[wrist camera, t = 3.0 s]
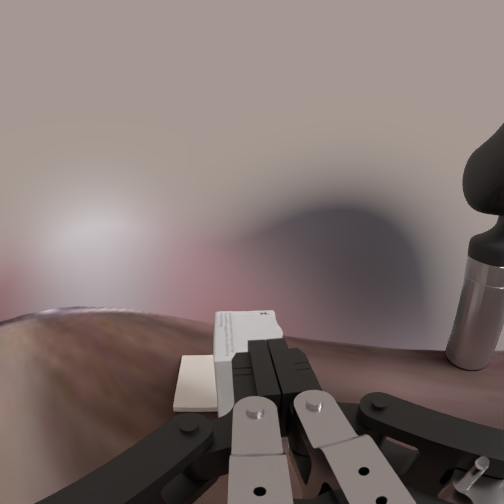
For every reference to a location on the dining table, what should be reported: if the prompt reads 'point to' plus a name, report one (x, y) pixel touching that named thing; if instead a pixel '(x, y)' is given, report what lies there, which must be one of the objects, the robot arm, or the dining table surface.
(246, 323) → the skincare box
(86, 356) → the dining table surface
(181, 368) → the mat
